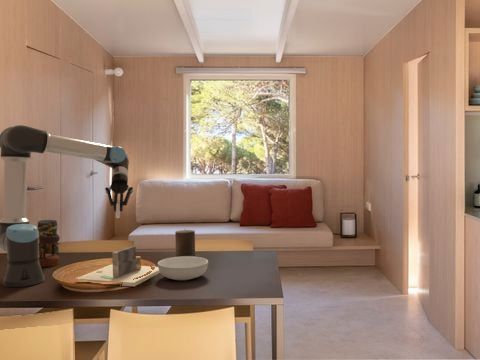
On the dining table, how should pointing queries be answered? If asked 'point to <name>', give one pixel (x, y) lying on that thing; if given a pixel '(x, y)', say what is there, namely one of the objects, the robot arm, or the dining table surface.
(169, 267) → the serving bowl
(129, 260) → the peg head
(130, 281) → the board
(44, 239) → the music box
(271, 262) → the dining table surface
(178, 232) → the pillar candle
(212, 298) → the dining table surface
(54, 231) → the camouflage backpack
